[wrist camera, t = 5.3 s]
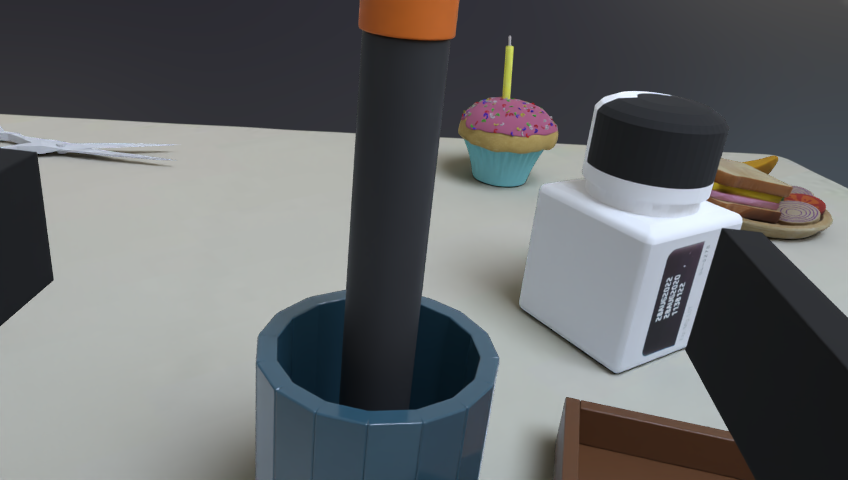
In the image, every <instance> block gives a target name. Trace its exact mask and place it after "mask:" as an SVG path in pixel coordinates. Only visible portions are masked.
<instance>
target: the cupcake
mask: <svg viewBox="0 0 848 480" xmlns="http://www.w3.org/2000/svg"><path fill="white" fill-rule="evenodd" d="M513 49H514V47H513V46H511V36H509V46H506V53H505V69H504V82H503V97H496V98H493V97H492V98H488V99H487V100H483V101H482V100H481V101H480V102H478V103H477V102H476V103H475V104H473V106H471V107H470V108H468V109H467V110H466V111H464V114H462V118H461V122H460V125H459V131H458V132H459V135H461V136H462V137H463V138H464V140H465V143H466V145H467V148H468V152H469V156H470V161H471V167H472V174H473V176H474V177H475V178H476V179H477V180H479V181H481V182H484V183H487V184H490V185H495V186H503V187H514V186H519V185H522V184H524V183H525V182H526V180H527V178H528V176H529V173H530V172H531V170H532V168H533V166H534V164H535V162H536V161H537V159H538V158H539V156H540V155H541V153H542V152H543V150H550V149H552V148H553V147H554V146H555V144H556V142H557V138H558V129H557V124H555V123H554V121H553V120H552V119H551V118H552V117H549V116H548V114H547V113H546V112H545V111H544V110H543V109H542V108H541V107H538V106H535V104H534V103H532V104H530V103H528V102H525V101H521V100H517V99H514V98H511V99H510V90H511V77H512V63H513Z"/></svg>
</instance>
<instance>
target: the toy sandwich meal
mask: <svg viewBox="0 0 848 480" xmlns="http://www.w3.org/2000/svg"><path fill="white" fill-rule="evenodd" d="M777 161H778V157H777V156H770V157H766V158H763V159H759V160H754V161H748V162H742V163H741V162H737V161H732V160H727V159H723V158H721V159H720V163H719V166H718V170H717V173H716V177H715V180H714V184H713V187H712V191H711V194H710V197H709V199H707V200H706V201H708V202H710V203H713V204H715V205H718V206H720V207H723V208H725V209H728V210H730V211H733V212H735V213H737V214H739V215H740V216H741V217H742V226H741V229H740V230H746V231H755V232H762V233H763V234H764V235H765V236H766V237H771V238H781V239H798V238H805V237H809V236H812V235H814V234H816V233H817V232H819V231H822V230H825V229H826V228H828V227H829V226H830V225H831V224H832V222H833V219H832V216H831V214H830V213H829V212H828V211H827V210H826V205H825V203H824V202H823V201H822V200H820V199H819V198H816V197H815V196H814V194H813V193H812V192H811V191H809V190H807V189H805V188H802V187H798V186H790V185H788V184H786V183H784V182H782V181H780V180H778V179H776V178H774V177H772V176H770V175H768V174H769V173H770V172H771V171H772V169H773V168H774V166H775V165H776V163H777Z"/></svg>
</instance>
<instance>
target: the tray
mask: <svg viewBox="0 0 848 480" xmlns="http://www.w3.org/2000/svg"><path fill="white" fill-rule="evenodd" d="M553 480H755V478H754V476H753V474H752V472H751V471H750V469H749V467H748V465H747V463H746V461H745V459H744V458H743V456H742V454H741V452H740V450H739V448H738V447H737V445H736V443H735V441H734V439H733V437H732V435H731V434H730V432H729V431H724V430H720V429H715V428H710V427H706V426H701V425H696V424H691V423H687V422H682V421H677V420H672V419H668V418H663V417H658V416H653V415H649V414H644V413H639V412H635V411H630V410H625V409H620V408H616V407H611V406H606V405H601V404H597V403H592V402H587V401H583V400H581V401H580V400H578V399H573V398H569V397H566V399H565V403H564V408H563V412H562V416H561V421H560V425H559V430H558V434H557V439H556V447H555V462H554V477H553Z"/></svg>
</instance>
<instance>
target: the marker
mask: <svg viewBox="0 0 848 480" xmlns="http://www.w3.org/2000/svg"><path fill="white" fill-rule="evenodd" d="M458 6H459V0H360V10H359V28H360V29H362V30H363V32H362V44H361V61H360V76H359V92H358V108H357V124H356V140H355V156H354V172H353V188H352V204H351V220H350V236H349V252H348V268H347V284H346V300H345V316H344V332H343V348H342V364H341V380H340V396H339V404H341V405H345V406H350V407H354V408H359V409H363V410H367V411H380V410H409V403H410V395H411V386H412V377H413V368H414V359H415V350H416V342H417V333H418V324H419V315H420V306H421V297H422V288H423V280H424V271H425V262H426V253H427V244H428V235H429V226H430V218H431V209H432V200H433V191H434V182H435V173H436V165H437V156H438V147H439V138H440V129H441V120H442V110H443V103H444V94H445V85H446V76H447V67H448V58H449V49H450V39H452V38H454V37H455V32H456V24H457V15H458Z"/></svg>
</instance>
